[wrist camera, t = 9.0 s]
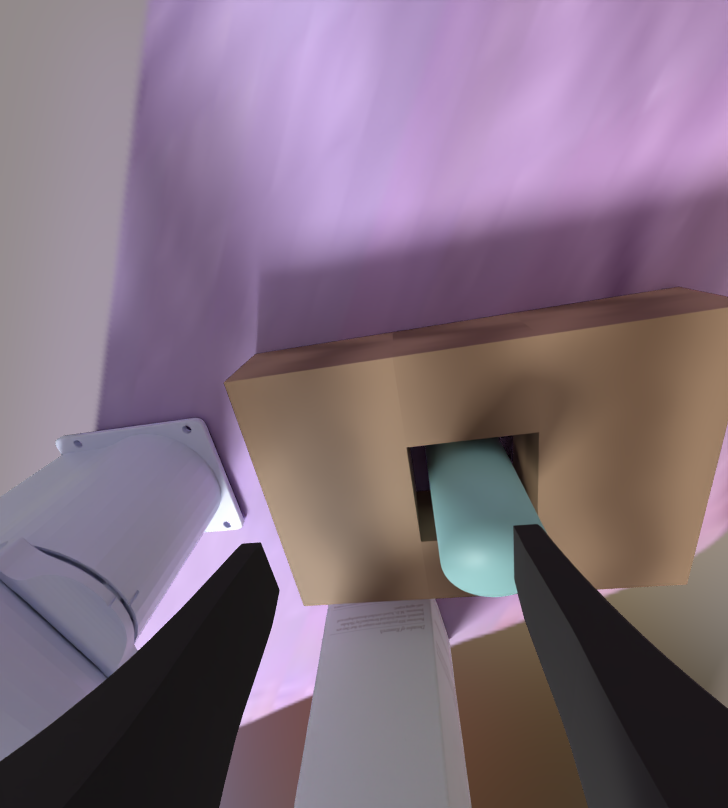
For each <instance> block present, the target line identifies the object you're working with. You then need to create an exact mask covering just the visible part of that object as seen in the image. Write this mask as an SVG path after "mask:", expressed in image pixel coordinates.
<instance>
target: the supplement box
mask: <svg viewBox="0 0 728 808" xmlns="http://www.w3.org/2000/svg"><path fill="white" fill-rule="evenodd" d="M294 808H471V801H470V793H469V787H468V779H467V771H466V764H465V756H464V749H463V741H462V735H461V727H460V719H459V713H458V705H457V698H456V690H455V682H454V674H453V665H452V658H451V650H450V643H449V639H448V635H447V632H446V629H445V626H444V623H443V620H442V617H441V614H440V611H439V608H438V605H437V602H436V599H419V600H402V601H384V602H366V603H349V604H331V605H328V611H327V616H326V622H325V627H324V634H323V639H322V646H321V652H320V657H319V663H318V669H317V675H316V681H315V687H314V693H313V699H312V705H311V711H310V718H309V723H308V729H307V735H306V741H305V746H304V752H303V758H302V764H301V771H300V776H299V782H298V788H297V793H296V799H295V805H294Z"/></svg>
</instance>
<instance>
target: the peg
mask: <svg viewBox="0 0 728 808" xmlns="http://www.w3.org/2000/svg"><path fill="white" fill-rule="evenodd" d="M425 454H426V461H427V468H428V476H429V483H430V490H431V498H432V505H433V512H434V519H435V527H436V534H437V541H438V549H439V556H440V563H441V567H442V570H443V572H444V574H445V576H446V577H447V579H448V580H449V581H450V582H451V583H452V584H454V585H455V586H456V587H458V588H460V589H461V590H463V591H465V592H468V593H471V594H474V595H478V596H485V597H502V596H509V595H513V594H517V589H516V585H515V581H514V541H513V526H514V525H529V524H538V525H539V526H541V527H542V528H543V530H544V531H545V532H546V530H545V528H544V526H543V524H542V522H541V520H540V519H539V517H538V515H537V513H536V511H535V509H534V507H533V505H532V503H531V501H530V499H529V497H528V495H527V493H526V491H525V489H524V487H523V485H522V483H521V481H520V479H519V477H518V475H517V473H516V471H515V469H514V467H513V465H512V463H511V461H510V459H509V457H508V455H507V453H506V451H505V449H504V447H503V445H502V443H501V441H500V439H499V437H493V438H484V439H476V440H467V441H458V442H450V443H441V444H432V445H425ZM546 533H547V532H546Z"/></svg>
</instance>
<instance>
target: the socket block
mask: <svg viewBox="0 0 728 808" xmlns="http://www.w3.org/2000/svg"><path fill="white" fill-rule="evenodd" d="M224 385H225V388H226V391H227V393H228V396H229V399H230V402H231V405H232V407H233V410H234V413H235V416H236V418H237V421H238V424H239V427H240V430H241V432H242V435H243V438H244V441H245V443H246V446H247V449H248V452H249V455H250V457H251V460H252V463H253V466H254V468H255V471H256V474H257V477H258V480H259V482H260V485H261V488H262V491H263V493H264V496H265V499H266V502H267V505H268V507H269V510H270V513H271V516H272V519H273V521H274V524H275V527H276V530H277V532H278V535H279V538H280V541H281V544H282V546H283V549H284V552H285V555H286V557H287V560H288V563H289V566H290V569H291V571H292V574H293V577H294V580H295V582H296V585H297V588H298V591H299V594H300V596H301V599H302V602H303V605H304V606H313V605H331V604H349V603H366V602H384V601H402V600H419V599H437V598H455V597H472V596H478V595H474V594H471V593H468V592H465V591H463V590H461V589H460V588H458V587H456V586H455V585H454V584H452V583H451V582H450V581H449V580H448V579H447V577H446V576H445V574H444V572H443V570H442V567H441V563H440V556H439V549H438V541H437V534H436V527H435V519H434V512H433V505H432V498H431V490H425V491H416V484H415V478H414V471H413V464H412V457H411V451H410V447H415V446H423V445H432V444H441V443H450V442H458V441H467V440H476V439H484V438H493V437H502V436H511V435H513V467H514V469H515V471H516V473H517V475H518V477H519V479H520V481H521V483H522V485H523V487H524V489H525V491H526V493H527V495H528V497H529V499H530V501H531V503H532V505H533V507H534V509H535V511H536V513H537V515H538V517H539V519H540V520H541V522H542V524H543V526H544V528H545V530H546V532H547V534H548V536H549V537H550V538H551V539H552V541H553V542H554V543H555V544H556V545H557V547H558V548H559V549H560V550H561V551H562V552H563V554H564V555H565V556H566V557H567V558H568V559H569V560H570V561H571V563H572V564H573V565H574V566H575V567H576V568H577V569H578V570H579V571H580V573H581V574H582V575H583V576H584V577H585V578H586V579H587V580H588V581H589V582H590V583H591V584H592V585H593V586H594V587H595V588H596V589H614V588H632V587H649V586H665V585H666V586H667V585H685V584H687V582H688V578H689V574H690V570H691V566H692V562H693V558H694V555H695V551H696V547H697V543H698V539H699V535H700V531H701V527H702V523H703V519H704V515H705V511H706V507H707V503H708V499H709V495H710V491H711V487H712V483H713V479H714V475H715V471H716V467H717V463H718V459H719V455H720V451H721V447H722V443H723V439H724V435H725V431H726V427H727V423H728V297H726V296H721V295H717V294H712V293H707V292H702V291H697V290H692V289H687V288H682V287H674V288H668V289H661V290H655V291H649V292H642V293H636V294H630V295H624V296H617V297H611V298H605V299H598V300H592V301H586V302H580V303H573V304H567V305H561V306H554V307H548V308H542V309H535V310H529V311H523V312H517V313H510V314H504V315H498V316H491V317H485V318H479V319H473V320H466V321H460V322H454V323H447V324H441V325H435V326H428V327H422V328H416V329H410V330H403V331H397V332H391V333H384V334H378V335H372V336H365V337H359V338H353V339H347V340H340V341H334V342H328V343H321V344H315V345H309V346H303V347H296V348H290V349H284V350H277V351H271V352H265V353H258V354H255V355H254V356H253V357H251V358H250V359H249V360H248V361H247V362H246V363H245V364H244V365H243V366H241V367H240V368H239V369H238V370H237V371H236V372H235V373H234V374H233V375H231V376H230V377H229V378H228V379H227V380H226V381H225V382H224ZM517 594H518V593H517Z"/></svg>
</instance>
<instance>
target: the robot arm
mask: <svg viewBox="0 0 728 808" xmlns="http://www.w3.org/2000/svg"><path fill="white" fill-rule="evenodd" d="M186 426H189V427H190V428H191V430H189V429H187V428H186ZM56 446H57V448H58V450H59V451H60V453H61V456H60V457H58V458H57V459H55V460H54V461H52V462H51V463H49V464H48V465H46V466H45V467H43V468H42V469H41V470H39V471H38V472H36V473H35V474H33V475H32V476H30V477H29V478H27V479H26V480H24V481H23V482H21V483H20V484H18V485H17V486H15V487H14V488H12V489H11V490H10V491H8V492H7V493H5V494H4V495H2V496H1V497H0V808H219V806H220V801H221V797H222V792H223V788H224V784H225V780H226V775H227V771H228V767H229V763H230V759H231V755H232V751H233V747H234V743H235V739H236V735H237V732H238V729H239V725H240V722H241V719H242V715H243V712H244V709H245V706H246V703H247V701H248V698H249V695H250V692H251V689H252V686H253V683H254V680H255V677H256V674H257V671H258V668H259V665H260V662H261V659H262V656H263V653H264V650H265V647H266V644H267V641H268V637H269V634H270V631H271V628H272V624H273V620H274V615H275V611H276V606H277V600H278V595H279V588H278V585H277V582H276V580H275V577H274V575H273V572H272V570H271V567H270V565H269V562H268V560H267V557H266V555H265V552H264V549H263V547H262V544H261V543H246V544H241V545H240V546H239V547H238V548H237V549H236V550H235V551H234V552H233V553H232V555H231V556H230V557H229V558H228V559H227V560H226V561H225V562H224V563H223V564H222V565H221V566H220V568H219V569H218V570H217V571H216V572H215V573H214V574H213V575H212V576H211V577H210V578H209V579H208V581H207V582H206V583H205V584H204V585H203V586H202V587H201V588H200V589H199V590H198V591H197V592H196V593H195V594H194V596H193V597H192V598H191V599H190V600H189V601H188V602H187V603H186V604H185V605H184V606H183V607H182V608H181V609H180V610H179V611H178V612H177V613H176V614H175V615H174V616H173V617H172V618H171V619H170V620H169V621H168V622H167V623H166V624H165V625H164V626H163V627H162V628H161V629H160V630H159V631H158V632H157V633H156V634H155V635H154V636H153V637H152V638H151V639H150V640H149V641H148V642H147V643H146V644H145V645H144V646H143V647H142V648H141V649H140V650H138V651H137V649H136V647H135V645H134V643H135V642H136V640H137V638H138V637H139V635H140V634H141V632H142V631H143V629H144V627H145V626H146V624H147V623H148V621H149V619H150V618H151V616H152V615H153V613H154V611H155V610H156V608H157V607H158V605H159V603H160V602H161V600H162V599H163V597H164V595H165V594H166V592H167V591H168V589H169V587H170V586H171V584H172V583H173V581H174V579H175V578H176V576H177V575H178V573H179V571H180V570H181V568H182V567H183V565H184V564H185V562H186V560H187V559H188V557H189V556H190V554H191V552H192V551H193V549H194V548H195V546H196V544H197V543H198V541H199V540H200V538H201V536H202V535H203V533H204V532H214V531H225V530H236V529H240V528H241V527H242V526H243V524H244V518H243V516H242V513H241V511H240V508H239V506H238V503H237V501H236V498H235V496H234V493H233V491H232V488H231V486H230V483H229V481H228V478H227V476H226V473H225V471H224V468H223V466H222V463H221V461H220V458H219V456H218V453H217V451H216V448H215V446H214V443H213V441H212V438H211V436H210V433H209V431H208V429H207V426H206V424H205V422H204V421H203V420H202V419H199V418H190V419H182V420H175V421H168V422H160V423H153V424H146V425H139V426H131V427H124V428H117V429H109V430H102V431H95V432H87V433H80V434H73V435H65V436H62V437H60V438H58V439H57V440H56ZM228 522H230V523H228ZM513 541H514V581H515V585H516V589H517V593H518V596H519V600H520V604H521V608H522V612H523V615H524V619H525V622H526V625H527V627H528V630H529V633H530V636H531V638H532V641H533V644H534V646H535V649H536V652H537V655H538V657H539V660H540V663H541V665H542V668H543V671H544V673H545V676H546V679H547V681H548V684H549V687H550V689H551V692H552V695H553V697H554V700H555V703H556V705H557V708H558V710H559V713H560V716H561V719H562V722H563V724H564V728H565V730H566V734H567V737H568V739H569V743H570V746H571V749H572V753H573V756H574V759H575V763H576V766H577V769H578V773H579V777H580V780H581V784H582V787H583V790H584V794H585V797H586V801H587V804H588V808H728V708H726V707H725V706H724V705H723V704H722V703H720V702H719V701H718V700H717V699H716V698H714V697H713V696H712V695H711V694H709V693H708V692H707V691H706V690H704V688H702V687H701V686H700V685H698V684H697V683H696V682H695V681H694V680H693V679H691V678H690V677H689V676H688V675H687V674H686V673H684V672H683V671H682V670H681V669H680V668H679V667H678V666H676V665H675V664H674V663H673V662H672V661H671V660H669V659H668V658H667V657H666V656H665V655H664V654H663V653H662V652H661V651H659V650H658V649H657V648H656V647H655V646H654V645H653V644H652V643H651V642H649V641H648V640H647V639H646V638H645V637H644V636H643V635H642V634H641V633H640V632H639V631H638V630H637V629H636V628H635V627H634V626H632V625H631V624H630V623H629V622H628V621H627V620H626V619H625V618H624V617H623V616H622V615H621V614H620V613H619V612H618V611H617V610H616V609H615V608H614V607H613V606H612V605H611V604H610V603H609V602H608V601H607V600H606V599H605V598H604V597H603V596H602V595H601V594H600V593H599V592H598V591H597V589H596V588H595V587H594V586H593V585H592V584H591V583H590V582H589V581H588V580H587V579H586V578H585V577H584V576H583V575H582V574H581V573H580V571H579V570H578V569H577V568H576V567H575V566H574V565H573V564H572V563H571V561H570V560H569V559H568V558H567V557H566V556H565V555H564V554H563V552H562V551H561V550H560V549H559V548H558V547H557V545H556V544H555V543H554V542H553V541H552V539H551V538H550V537H549V536H548V534H547V533H546V532H545V531H544V530H543V528H542V527H541V526H539V525H538V524H529V525H514V526H513Z"/></svg>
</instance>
